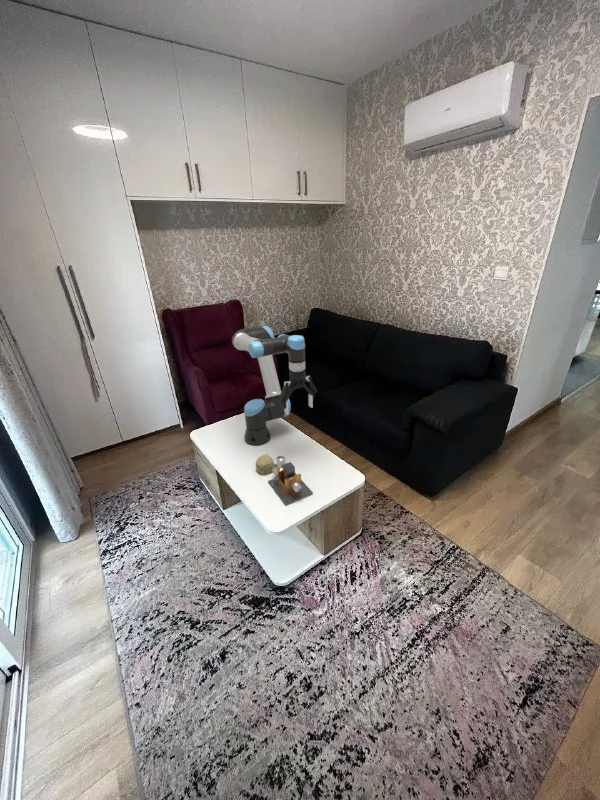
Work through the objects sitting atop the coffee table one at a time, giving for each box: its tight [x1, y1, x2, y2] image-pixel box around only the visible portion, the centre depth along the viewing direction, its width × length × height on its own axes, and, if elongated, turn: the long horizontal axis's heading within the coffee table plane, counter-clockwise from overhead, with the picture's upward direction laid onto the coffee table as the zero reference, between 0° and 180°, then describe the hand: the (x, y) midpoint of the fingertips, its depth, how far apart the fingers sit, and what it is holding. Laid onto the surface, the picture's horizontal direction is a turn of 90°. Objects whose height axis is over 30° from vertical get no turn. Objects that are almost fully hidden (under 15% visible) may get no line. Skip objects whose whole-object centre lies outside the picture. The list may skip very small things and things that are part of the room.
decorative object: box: [255, 454, 275, 476], centre depth 165 cm, size 9×10×10 cm
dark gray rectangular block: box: [283, 461, 296, 485], centre depth 150 cm, size 4×4×12 cm
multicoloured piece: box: [267, 455, 314, 507], centre depth 152 cm, size 22×14×12 cm, turn 29°
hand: (298, 410), depth 162 cm, fingers open, 13 cm apart
